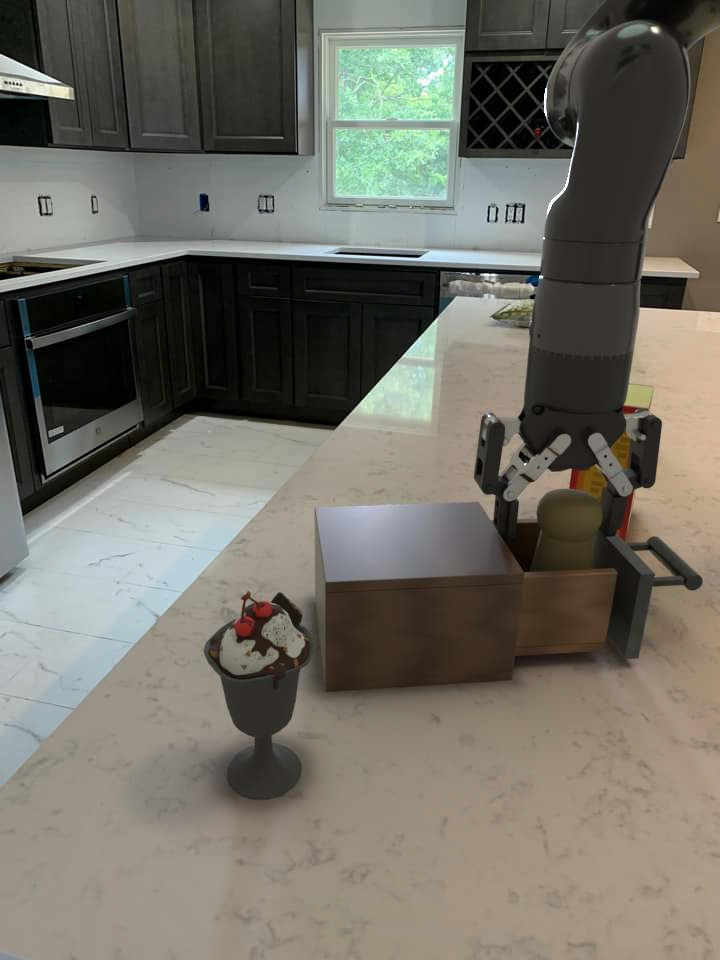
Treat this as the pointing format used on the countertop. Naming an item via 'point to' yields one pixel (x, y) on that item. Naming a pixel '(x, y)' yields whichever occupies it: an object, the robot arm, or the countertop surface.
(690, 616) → the countertop surface
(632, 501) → the baking soda box
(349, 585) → the cabinet
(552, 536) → the cork
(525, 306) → the frozen beans
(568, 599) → the drawer
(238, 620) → the sundae
